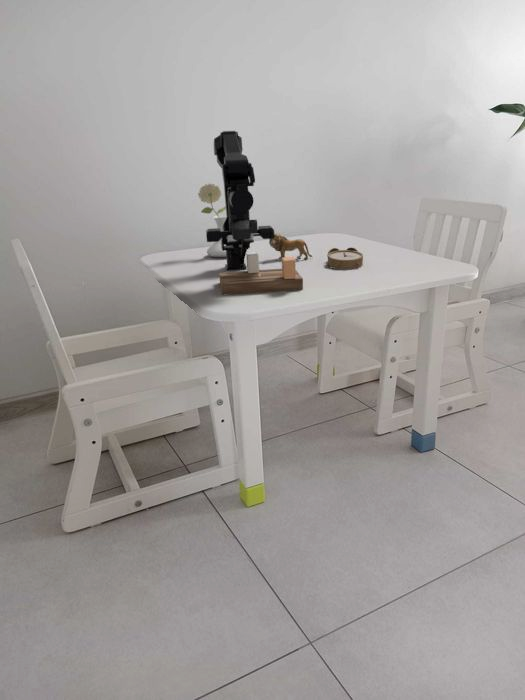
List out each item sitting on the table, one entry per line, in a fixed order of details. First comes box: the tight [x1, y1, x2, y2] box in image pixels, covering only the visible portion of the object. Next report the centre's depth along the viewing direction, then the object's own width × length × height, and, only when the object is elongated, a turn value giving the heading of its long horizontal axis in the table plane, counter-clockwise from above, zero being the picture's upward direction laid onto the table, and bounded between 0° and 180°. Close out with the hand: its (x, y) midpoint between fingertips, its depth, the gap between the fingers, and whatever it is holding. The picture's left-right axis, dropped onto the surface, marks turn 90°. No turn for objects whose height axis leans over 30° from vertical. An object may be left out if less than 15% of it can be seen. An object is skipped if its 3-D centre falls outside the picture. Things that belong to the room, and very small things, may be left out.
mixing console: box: [218, 268, 304, 296], centre depth 142 cm, size 13×22×3 cm, turn 97°
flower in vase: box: [197, 183, 227, 258], centre depth 177 cm, size 13×11×25 cm
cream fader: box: [245, 251, 260, 273], centre depth 145 cm, size 4×3×5 cm
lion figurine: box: [268, 232, 313, 261], centre depth 172 cm, size 15×5×9 cm, turn 91°
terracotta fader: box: [281, 256, 296, 279], centre depth 137 cm, size 4×3×5 cm
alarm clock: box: [327, 247, 364, 270], centre depth 164 cm, size 11×5×15 cm
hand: (241, 264), depth 144 cm, fingers closed
